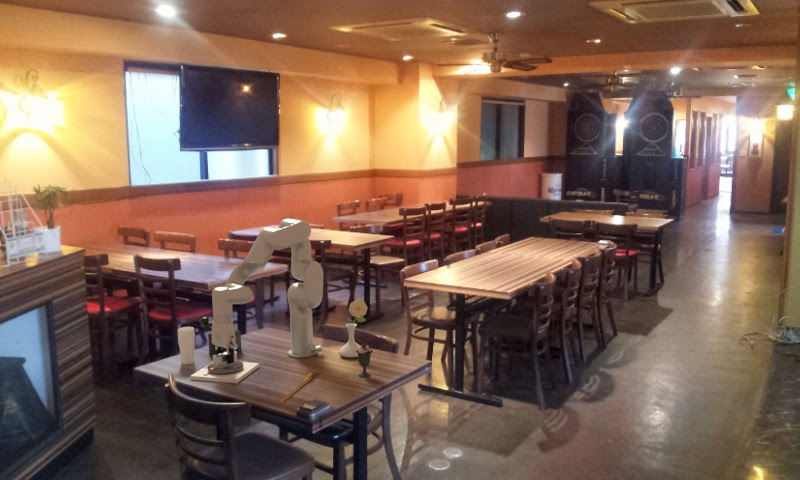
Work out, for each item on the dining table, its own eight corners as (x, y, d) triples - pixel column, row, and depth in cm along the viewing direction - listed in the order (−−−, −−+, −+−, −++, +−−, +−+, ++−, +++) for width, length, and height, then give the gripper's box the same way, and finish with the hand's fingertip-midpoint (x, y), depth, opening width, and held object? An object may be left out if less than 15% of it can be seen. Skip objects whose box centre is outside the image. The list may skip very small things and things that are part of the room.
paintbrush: (279, 407, 245) (279, 400, 244) (317, 371, 278) (317, 364, 277) (283, 407, 244) (282, 400, 244) (320, 371, 277) (320, 365, 277)
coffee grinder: (221, 347, 311) (219, 309, 308) (242, 350, 307) (240, 311, 304) (199, 358, 297) (197, 317, 294) (221, 360, 293) (218, 320, 290)
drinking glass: (191, 366, 286) (189, 331, 284) (176, 365, 288) (174, 330, 285) (199, 360, 293) (197, 326, 291) (184, 360, 294) (182, 326, 292)
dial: (231, 360, 287) (230, 346, 286) (250, 368, 277) (249, 353, 276) (201, 368, 277) (200, 354, 276) (219, 376, 267) (218, 361, 266)
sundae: (360, 379, 268) (359, 342, 266) (353, 374, 274) (352, 338, 272) (375, 376, 271) (375, 339, 269) (368, 371, 277) (367, 335, 275)
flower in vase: (336, 359, 293) (334, 302, 289) (341, 351, 304) (340, 296, 300) (366, 360, 291) (365, 303, 287) (370, 352, 302) (369, 296, 298)
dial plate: (259, 366, 284) (259, 362, 284) (236, 383, 265) (236, 379, 265) (215, 363, 289) (215, 359, 289) (190, 379, 270) (190, 375, 270)
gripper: (202, 316, 276) (204, 359, 279) (229, 323, 266) (231, 368, 268) (217, 312, 282) (219, 355, 285) (244, 319, 272) (246, 363, 274)
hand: (225, 360), depth 277 cm, fingers open, 6 cm apart
